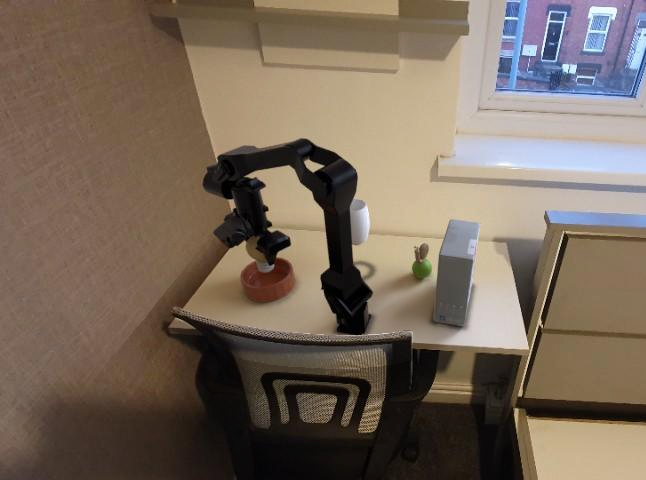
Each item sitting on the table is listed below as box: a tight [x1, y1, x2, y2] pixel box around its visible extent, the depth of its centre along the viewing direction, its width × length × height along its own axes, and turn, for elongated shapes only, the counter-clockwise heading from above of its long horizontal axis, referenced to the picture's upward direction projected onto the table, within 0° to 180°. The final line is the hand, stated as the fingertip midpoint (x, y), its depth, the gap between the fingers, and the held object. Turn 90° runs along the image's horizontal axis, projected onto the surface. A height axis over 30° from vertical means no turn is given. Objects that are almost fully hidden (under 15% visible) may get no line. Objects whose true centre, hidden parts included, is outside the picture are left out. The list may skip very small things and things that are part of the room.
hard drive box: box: [433, 218, 481, 327], centre depth 94 cm, size 16×8×20 cm, turn 168°
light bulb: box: [245, 236, 274, 273], centre depth 95 cm, size 6×6×10 cm
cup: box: [350, 198, 371, 246], centre depth 102 cm, size 7×7×21 cm
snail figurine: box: [411, 242, 433, 279], centre depth 104 cm, size 5×6×12 cm
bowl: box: [239, 256, 296, 303], centre depth 100 cm, size 12×12×5 cm
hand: (264, 259), depth 96 cm, fingers closed on light bulb, 6 cm apart
